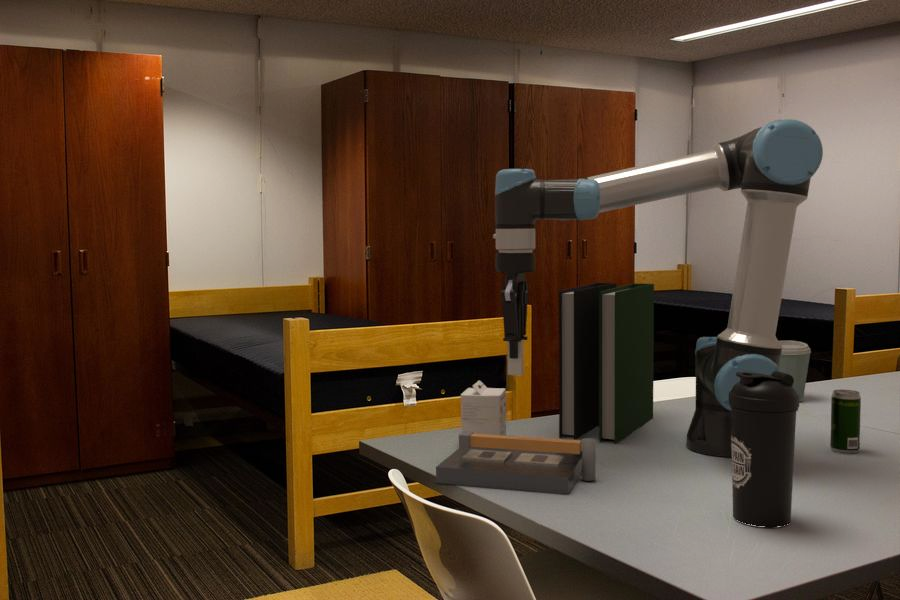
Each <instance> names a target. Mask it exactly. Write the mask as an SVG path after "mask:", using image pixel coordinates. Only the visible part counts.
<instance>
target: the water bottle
mask: <svg viewBox="0 0 900 600" xmlns="http://www.w3.org/2000/svg"><path fill="white" fill-rule="evenodd" d="M736 376H738V377H740V381H739V382H737V383H736V384H735V385H734V386H733V388H732V390H731V391H730V392H729V406H730V407H731V431H732V436H731V450H732V457H731V484H732V487H731V488H732V518H733V517H734V518H735V519H736V520H738V521H740V522H743V523H746V524H750V525H751V524H752V525H756V526H765V527H777V526H784V525H787V524H789V523H790V524H791V521H792V520H791V519H792V501H793V483H794V482H793V480H794V463H795V446H796V445H795V444H796V425H797V411H799V407H800V402H799V395H798V394H797V393H796V390H795V389H794V388H793V383H794V379H793V377H792V376H791V375H789V374H787V373H784V372H781V371H774V372H773V373H772V374H771V375H765V374H760V373H752V372H737V373H736ZM734 518H733V519H734ZM735 519H734V520H735ZM736 520H735V521H736ZM738 521H737V522H738ZM740 522H739V523H740ZM790 524H789V525H790ZM787 526H788V525H787Z"/></svg>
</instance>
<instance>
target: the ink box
mask: <svg viewBox="0 0 900 600" xmlns="http://www.w3.org/2000/svg"><path fill="white" fill-rule="evenodd" d="M476 381H477V382H475V383H474V384H472V387H468V388H466V389H465V390H464V391H463V392H462V393H460V414H461V415H460V417H461V421H460V422H461V425H460V426H461V429H460V431H461V433H462V432H463V431H469V432H474V434H488V435H503V436H507V393H506V392H507V390H506V389H507V388H504V387H503V388H502V387H501V388H496V387H495V388H494V387H487V386H486V385H485V383H483V382H482V381H481V380H476ZM461 433H460V434H461Z"/></svg>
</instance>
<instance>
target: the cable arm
mask: <svg viewBox="0 0 900 600" xmlns="http://www.w3.org/2000/svg"><path fill="white" fill-rule="evenodd" d="M470 447H484V448H498V449H512V450H527V451H541V452H556V453H570V454H580V453H581V451H582V473H581V480H582V481H587V482H591V481H595V480H596V439H595V438H593V437H584V438H582V439H581V440H578V439H576V440H574V439H563V438H548V437H531V436H517V435H516V436H515V435H506V436H503V435H488V434H474V432H469V431H463V432H462V433H460V434H458V449H459V448H470Z"/></svg>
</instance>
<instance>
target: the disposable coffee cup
mask: <svg viewBox="0 0 900 600" xmlns="http://www.w3.org/2000/svg"><path fill="white" fill-rule="evenodd" d="M778 341H779V342H780V344H781V345H782V351H781V358H780V363H779V368H780V370H781V372H784V373H787V374H789V375H791V376H792V377H793V379H794V383H793V388H794V389H795V390H796V393H797V394H798V395H799V403H800V402H802V401H803V399H804V397H805V391H806V383H807V375H808V370H809V363H810V357H811V353H812V351H811V348H810V347H809V345H808V343H806V342H803V341H797V340H778Z"/></svg>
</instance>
